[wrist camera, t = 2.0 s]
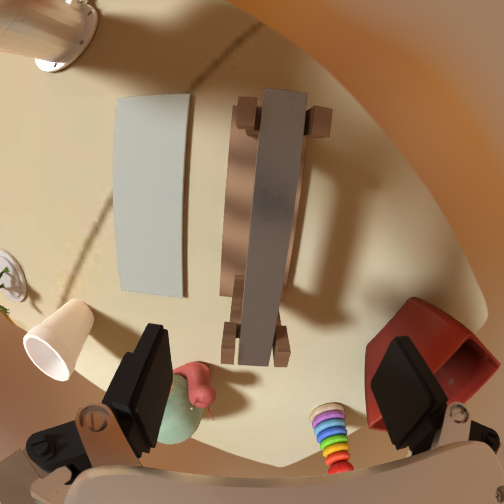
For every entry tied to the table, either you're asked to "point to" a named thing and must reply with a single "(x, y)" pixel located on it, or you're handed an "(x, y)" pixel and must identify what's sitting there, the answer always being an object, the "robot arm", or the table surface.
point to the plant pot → (432, 354)
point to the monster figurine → (11, 278)
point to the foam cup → (60, 339)
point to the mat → (150, 192)
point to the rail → (270, 220)
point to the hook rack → (240, 212)
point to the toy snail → (186, 402)
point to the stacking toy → (332, 436)
